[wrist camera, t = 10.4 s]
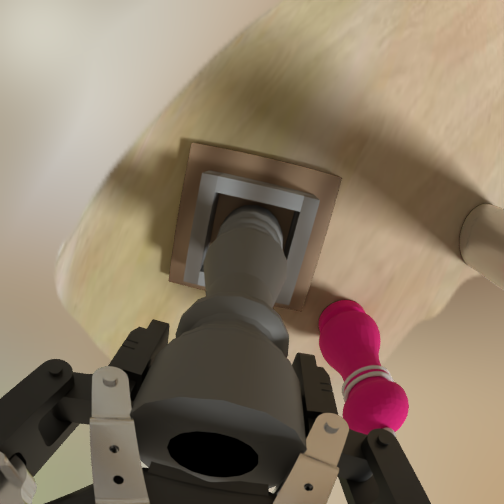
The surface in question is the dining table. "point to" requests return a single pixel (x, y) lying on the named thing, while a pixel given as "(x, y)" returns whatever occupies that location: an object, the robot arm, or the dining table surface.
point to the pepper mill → (361, 369)
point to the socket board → (252, 193)
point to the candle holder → (228, 368)
